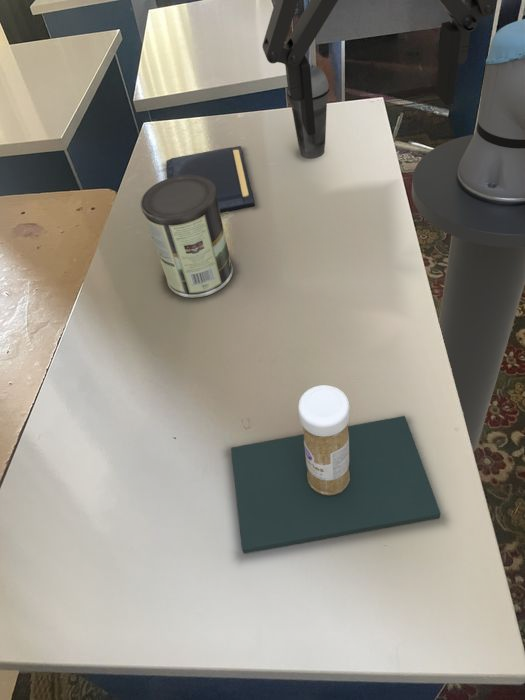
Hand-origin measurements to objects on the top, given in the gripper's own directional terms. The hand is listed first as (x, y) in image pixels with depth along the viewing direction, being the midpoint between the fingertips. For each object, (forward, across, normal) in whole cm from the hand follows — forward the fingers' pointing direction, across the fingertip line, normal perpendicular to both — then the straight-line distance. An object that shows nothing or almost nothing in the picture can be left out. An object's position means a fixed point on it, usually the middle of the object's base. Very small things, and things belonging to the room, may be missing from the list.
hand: (376, 113), depth 56 cm
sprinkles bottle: (+27, -12, -23) cm, 37 cm away
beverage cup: (+28, +1, +43) cm, 52 cm away
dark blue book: (+28, -20, +40) cm, 52 cm away
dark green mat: (+28, -12, -24) cm, 38 cm away
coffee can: (+28, -23, +15) cm, 39 cm away
